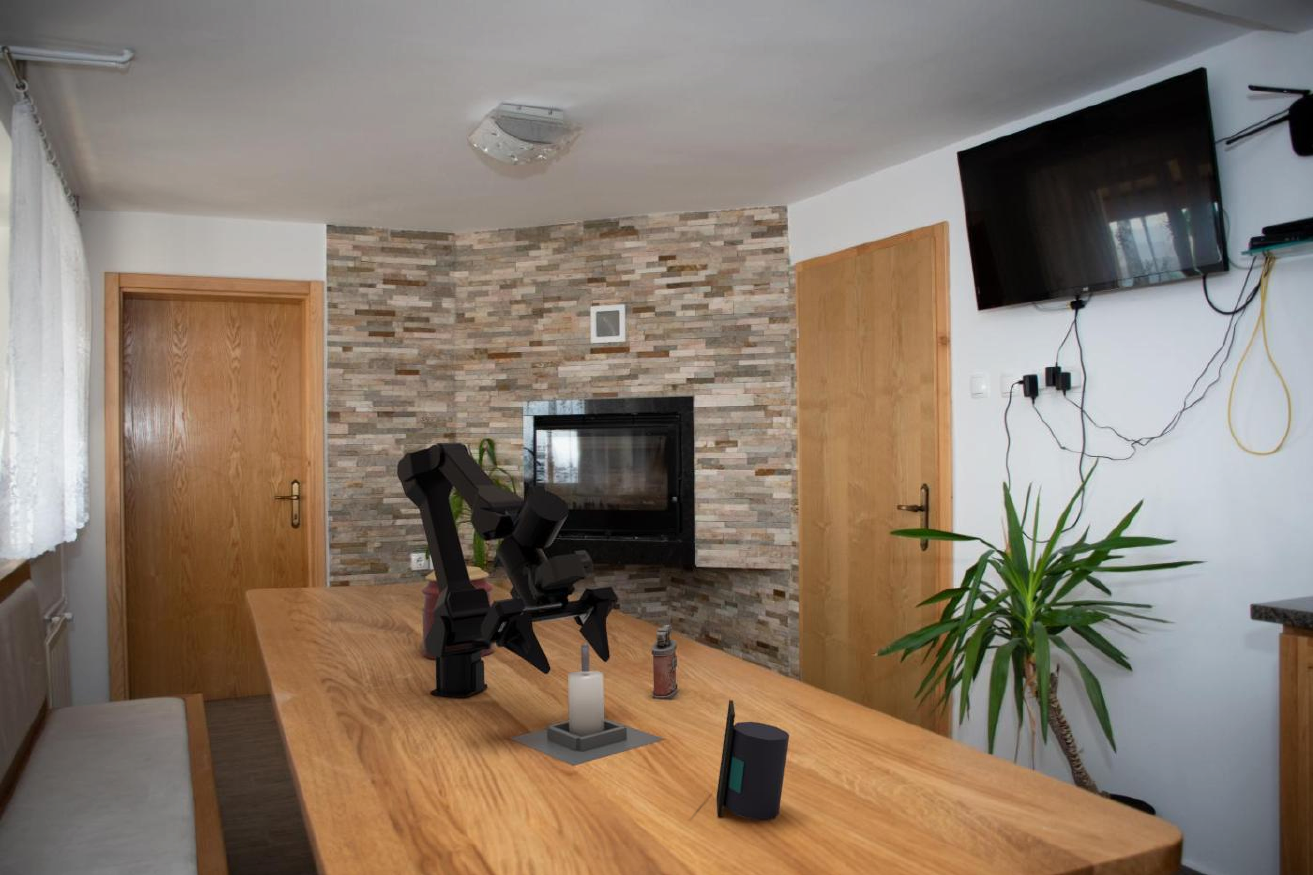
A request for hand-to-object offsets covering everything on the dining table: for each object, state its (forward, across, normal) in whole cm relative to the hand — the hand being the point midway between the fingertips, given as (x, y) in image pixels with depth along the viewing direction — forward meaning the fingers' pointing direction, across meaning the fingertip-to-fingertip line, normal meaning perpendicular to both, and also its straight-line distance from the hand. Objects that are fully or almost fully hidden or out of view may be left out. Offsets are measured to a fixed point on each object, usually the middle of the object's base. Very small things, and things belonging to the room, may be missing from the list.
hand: (578, 665), depth 119 cm
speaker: (+29, -1, -15) cm, 32 cm away
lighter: (+1, +22, +13) cm, 25 cm away
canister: (-34, +14, +47) cm, 59 cm away
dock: (+8, 0, +6) cm, 9 cm away
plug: (+7, 0, +5) cm, 9 cm away
